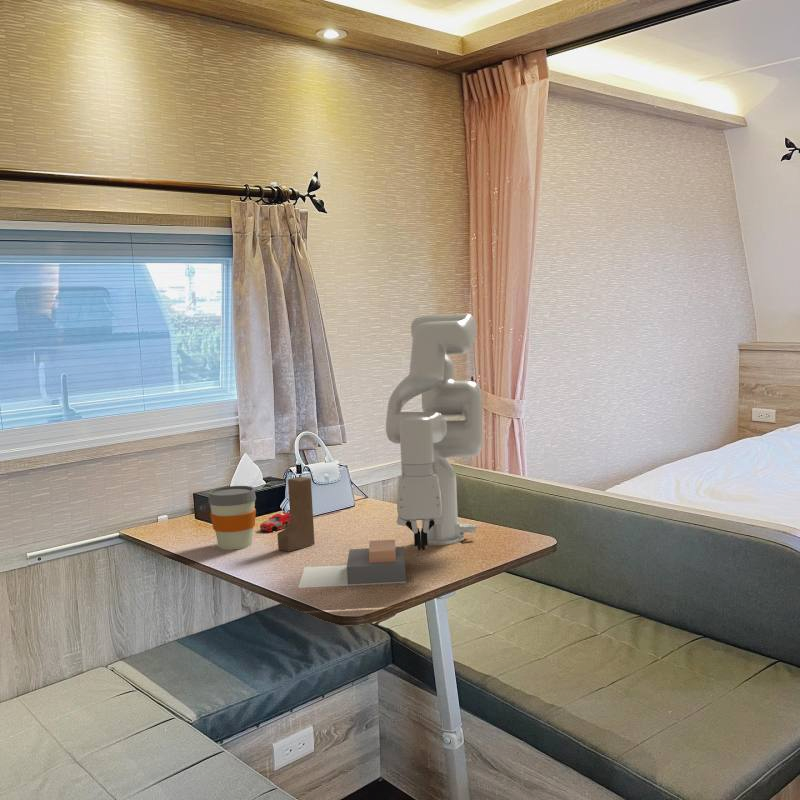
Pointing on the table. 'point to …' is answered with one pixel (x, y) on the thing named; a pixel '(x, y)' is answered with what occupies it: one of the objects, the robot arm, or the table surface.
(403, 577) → the grey flat block
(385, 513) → the table surface
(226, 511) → the reusable coffee cup
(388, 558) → the tile
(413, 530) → the robot arm
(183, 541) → the table surface
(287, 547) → the wooden block
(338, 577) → the mat
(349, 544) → the table surface
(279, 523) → the race car
